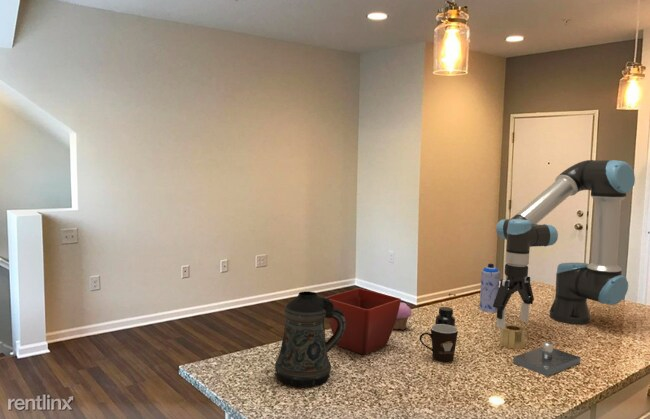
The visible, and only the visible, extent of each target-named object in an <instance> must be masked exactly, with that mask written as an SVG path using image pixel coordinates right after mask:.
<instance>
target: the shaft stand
mask: <svg viewBox="0 0 650 419" xmlns="http://www.w3.org/2000/svg"><path fill="white" fill-rule="evenodd" d="M512 363H513V364H514V365H518V366H520V367H522V368H525V369H527V370H528V369H529V370H530V371H533V372H536V373H538V374H541V375H543V376H546V377H551V376H553V375H555V374H558V373H560V372H562V371H563V372H564V371H565V370H567V369H570V368H572V367H575V366H577V365H579V364H581V356H578V355H574V354H573V353H572V354H571V353H570V352H565V351H564V350H559V349H558V348H554V343H553V342H551V341H543V342H542V346H541V347H539V348H535V349H532V350H529V351H525V352H524V353H520V354H518V355H515V356H513V362H512Z"/></svg>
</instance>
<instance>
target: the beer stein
mask: <svg viewBox="0 0 650 419" xmlns="http://www.w3.org/2000/svg"><path fill="white" fill-rule="evenodd" d="M283 310H284V315H285V322H284V323H285V324H284V328H283V336H282V340H281V346H280V349H279V353H278V357H277V359H276V361H275V364H274V369H275V374H276V379H277V382H278V383H280V384H283V385H285V386H286V387H292V388H295V389H306V388H307V389H308V388H309V389H311V388H315V387H318V386H322V385H323V384H326V383H327V382H328V380H329V378H330V374H331V370H332V365H331V361H330V360H329V357H328V353H329V352H330V351H331V350H333V348H334V347H335V346H336V345H337V343H338V342H339V340H340V339H341V337H342V335H343V333H344V331H345V325H346V323H345V318H344V314H343V312H342V311H340V310H339V309H338V308H333V303H332V302H331V300H330V299H328V298H325V297H321V296H319V295H318V293H317V292H315V291H300V292H299V293H298V295H297V296H296V297H294V299H292V300H291V301H289V302H288V303H287V304H286V305H285V306H284V309H283ZM328 318H334V319H336V320H337V323H338V327H337V329H336V331H335V333H334V334H333V333H332V335H331V336H330V337H329V339H328V340H327V341H326V332H325V330H326V329H325V319H328Z"/></svg>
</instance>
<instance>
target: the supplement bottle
mask: <svg viewBox="0 0 650 419" xmlns="http://www.w3.org/2000/svg"><path fill="white" fill-rule="evenodd" d="M434 321H435V324H434V325H437V324H445V325H451V326H454V327H456V318H455V317H454V309H453V308H451V307H449V306H440V307H439V308H438V314H437V315H436V317H435V320H434Z"/></svg>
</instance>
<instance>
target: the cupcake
mask: <svg viewBox="0 0 650 419" xmlns="http://www.w3.org/2000/svg"><path fill="white" fill-rule="evenodd" d="M410 317H412V309H411V307H410V306H409V305H407V303H405V302H400V307H399V311H398V315H397V318H396V322H395V325H394V328H393V329H394V330H403V331H404V330H405V328H406V326H407V323H408V319H409V318H410Z"/></svg>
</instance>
